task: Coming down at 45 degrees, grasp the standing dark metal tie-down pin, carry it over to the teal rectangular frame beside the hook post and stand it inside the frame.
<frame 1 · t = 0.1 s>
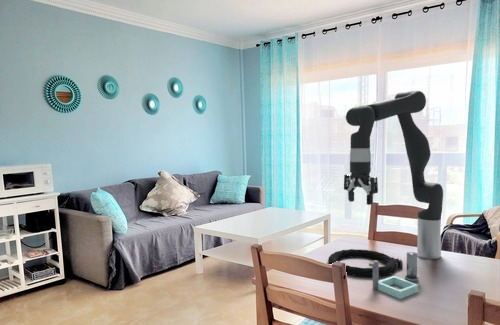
hand: (360, 202, 137), 29 cm above the table, tool pointing down, fingers open, 8 cm apart
cable lock: (364, 267, 152), on the table
pin: (411, 279, 137), on the table
teal rectangular frame: (396, 290, 127), on the table
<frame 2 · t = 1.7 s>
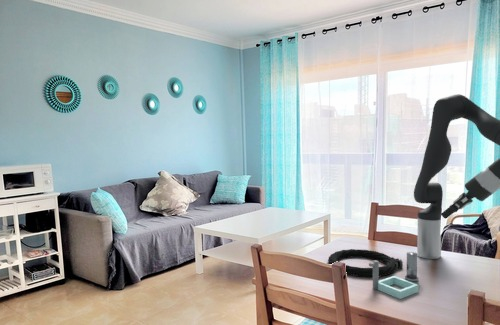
hand: (445, 214, 128), 26 cm above the table, tool tilted 45°, fingers open, 8 cm apart
nothing on the table moved.
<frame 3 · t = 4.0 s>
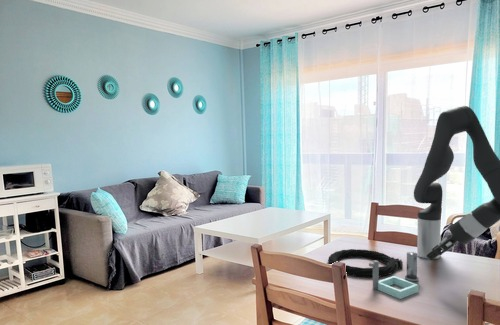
hand: (431, 254, 132), 11 cm above the table, tool tilted 45°, fingers open, 8 cm apart
nothing on the table moved.
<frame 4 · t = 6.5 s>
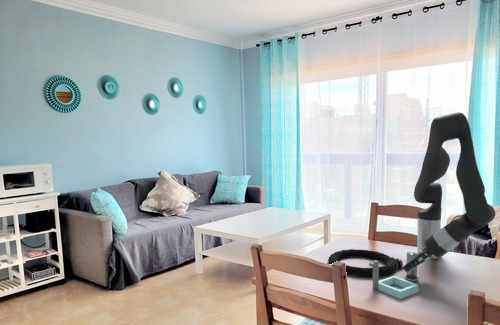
hand: (406, 267, 137), 4 cm above the table, tool tilted 45°, fingers closed on pin, 3 cm apart
pin: (411, 279, 137), on the table, touching gripper
everything else where it was.
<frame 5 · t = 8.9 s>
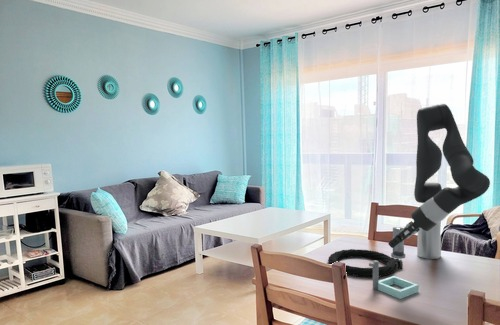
hand: (392, 244, 127), 16 cm above the table, tool tilted 45°, fingers closed on pin, 3 cm apart
pin: (398, 256, 126), point 12 cm above the table, touching gripper
everything else where it was.
when the fingers open (5 cm above the table, at t = 11.4 s): pin stays where it is, on the table.
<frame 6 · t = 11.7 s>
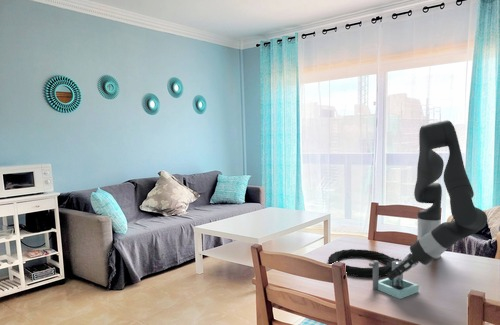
hand: (392, 274, 128), 5 cm above the table, tool tilted 45°, fingers open, 6 cm apart
pin: (397, 290, 127), on the table
everything else where it was.
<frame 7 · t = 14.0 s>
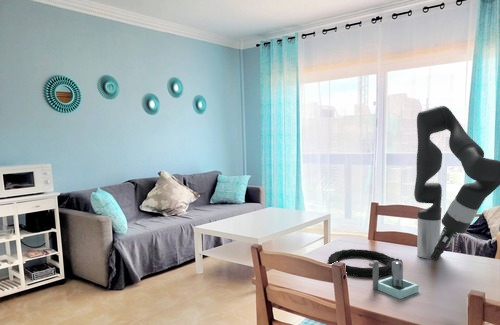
hand: (436, 253, 121), 14 cm above the table, tool tilted 25°, fingers open, 8 cm apart
nothing on the table moved.
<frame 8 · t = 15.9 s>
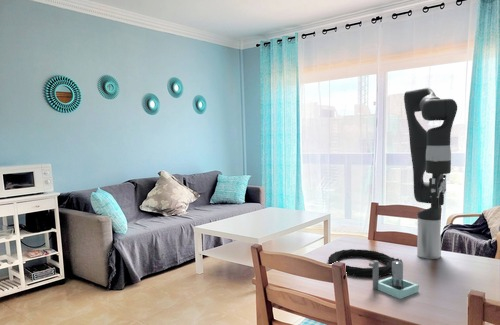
hand: (437, 206, 122), 30 cm above the table, tool pointing down, fingers open, 8 cm apart
nothing on the table moved.
at the end: pin inside the target area on the teal rectangular frame (0.1 cm from its centre), point 0.0 cm above the teal rectangular frame's base; pin tilted 0°; the gripper is holding nothing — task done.
